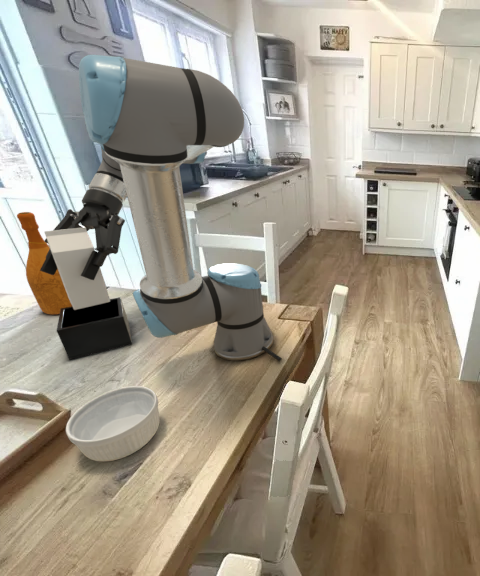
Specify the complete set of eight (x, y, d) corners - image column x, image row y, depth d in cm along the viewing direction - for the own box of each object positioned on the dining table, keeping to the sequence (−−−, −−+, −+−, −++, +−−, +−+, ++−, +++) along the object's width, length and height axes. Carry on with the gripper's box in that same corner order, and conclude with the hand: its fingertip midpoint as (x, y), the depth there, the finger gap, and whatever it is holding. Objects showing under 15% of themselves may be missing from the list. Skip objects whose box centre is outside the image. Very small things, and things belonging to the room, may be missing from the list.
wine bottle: (90, 307, 102) (55, 212, 89) (48, 319, 95) (3, 218, 82) (77, 297, 107) (42, 206, 94) (36, 309, 99) (-8, 211, 86)
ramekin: (66, 479, 54) (50, 452, 51) (92, 420, 65) (80, 394, 62) (159, 454, 59) (149, 428, 56) (169, 403, 70) (162, 379, 67)
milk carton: (110, 302, 84) (88, 230, 76) (74, 310, 79) (46, 235, 71) (104, 292, 88) (82, 223, 80) (69, 300, 83) (42, 227, 75)
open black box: (132, 344, 87) (123, 316, 84) (69, 360, 80) (56, 330, 76) (129, 323, 96) (120, 297, 92) (72, 336, 89) (60, 308, 85)
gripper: (156, 208, 87) (123, 286, 79) (80, 200, 88) (40, 275, 81) (135, 191, 80) (96, 274, 72) (52, 183, 81) (6, 263, 74)
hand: (67, 275), depth 77 cm, fingers closed on milk carton, 10 cm apart
